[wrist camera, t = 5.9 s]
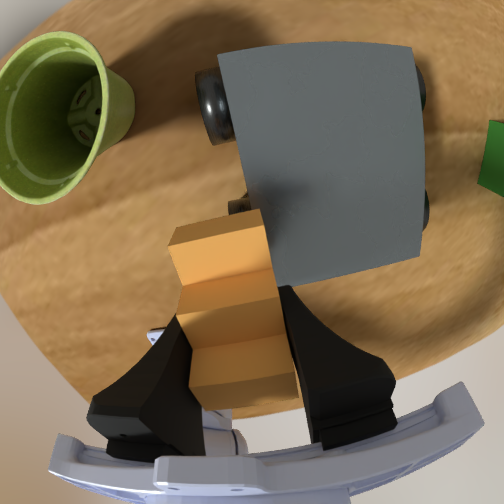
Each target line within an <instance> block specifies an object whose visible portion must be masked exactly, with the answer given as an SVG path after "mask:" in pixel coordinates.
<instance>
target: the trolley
mask: <svg viewBox="0 0 504 504" xmlns="http://www.w3.org/2000/svg"><path fill="white" fill-rule="evenodd" d="M217 57H218V61H219V67H215V68H211V69H207V70H203V71H199V72H196V73H195V82H196V89H197V95H198V100H199V104H200V109H201V113H202V117H203V120H204V124H205V127H206V130H207V133H208V136H209V139H210V141H211V143H212V145H213V146H214V145H219V144H223V143H227V142H232V141H237V145H238V150H239V154H240V159H241V164H242V168H243V173H244V177H245V182H246V186H247V191H248V196H249V197H246V198H241V199H237V200H232V201H228V212H229V215H232V214H237V213H241V212H246V211H251V210H255V209H260V212H261V216H262V219H263V223H264V227H265V232H266V237H267V242H268V247H269V252H270V257H271V262H272V268H273V272H274V276H275V280H276V284H277V287H280V286H284V285H290V286H291V287H294V286H299V285H303V284H308V283H312V282H317V281H321V280H326V279H330V278H335V277H339V276H343V275H348V274H352V273H356V272H360V271H364V270H368V269H372V268H376V267H380V266H384V265H388V264H392V263H396V262H400V261H404V260H407V259H411V258H415V257H419V256H420V249H421V240H422V232H423V231H424V229H425V228H426V226H427V224H428V220H429V200H428V196H427V192H426V190H425V146H424V129H423V117H422V112H423V109H424V106H425V101H426V90H425V84H424V80H423V77H422V74H421V72H420V70H419V69H418V67H417V66H416V64H415V62H414V57H413V52H412V48H411V47H406V46H398V45H390V44H379V43H366V42H304V43H290V44H280V45H271V46H263V47H256V48H249V49H243V50H238V51H232V52H227V53H223V54H218V55H217Z"/></svg>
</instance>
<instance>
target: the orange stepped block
mask: <svg viewBox="0 0 504 504" xmlns="http://www.w3.org/2000/svg"><path fill="white" fill-rule="evenodd" d="M168 249H169V251H170V254H171V257H172V259H173V262H174V265H175V267H176V270H177V272H178V275H179V277H180V280H181V282H182V285H183V288H182V292H181V296H180V300H179V304H178V308H177V313H176V317H177V319H178V321H179V323H180V325H181V327H182V329H183V331H184V333H185V335H186V337H187V339H188V341H189V343H190V345H191V347H192V349H193V353H192V361H191V370H190V379H189V388H190V390H191V391H192V393H193V394H194V396H195V397H196V399H197V400H198V401H199V403H200V404H201V406H202V407H203V408H204V410H205V411H213V410H223V409H233V408H241V407H248V406H255V405H262V404H268V403H273V402H279V401H284V400H289V399H294V398H299V395H298V389H297V383H296V376H295V370H294V366H293V361H292V357H291V352H290V348H289V343H288V339H287V335H286V329H285V324H284V318H283V313H282V307H281V302H280V296H279V292H278V288H277V284H276V280H275V276H274V272H273V268H272V262H271V257H270V252H269V247H268V242H267V237H266V232H265V227H264V223H263V219H262V216H261V212H260V209H255V210H251V211H246V212H241V213H237V214H232V215H228V216H223V217H219V218H215V219H210V220H206V221H202V222H197V223H193V224H189V225H185V226H181V227H177V228H176V230H175V232H174V234H173V236H172V238H171V240H170V243H169V245H168Z"/></svg>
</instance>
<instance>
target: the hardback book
mask: <svg viewBox="0 0 504 504" xmlns="http://www.w3.org/2000/svg"><path fill="white" fill-rule="evenodd" d="M477 184H479V185H481V186H483V187H485V188H487V189H489V190H491V191H493V192H495V193H497V194H498V195H500V196H502V197H504V123H500V122H496V121H492V120H489V128H488V135H487V141H486V147H485V152H484V157H483V162H482V166H481V171H480V175H479V179H478V183H477Z"/></svg>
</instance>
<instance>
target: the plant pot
mask: <svg viewBox="0 0 504 504" xmlns="http://www.w3.org/2000/svg"><path fill="white" fill-rule="evenodd" d="M85 90H86V91H87V92H86V93H85V95H84V96H83V97H82V98H81V100H80V102H79V103H78V105H77V100H78V98H79V96H80V94H81V93H82V92H83V91H85ZM98 108H99V109H100V110H101V112H100V114H99V115H97V114H96V113H95V111H96V109H98ZM134 115H135V98H134V93H133V90H132V88H131V86H130V85H129V84H128V82H127V81H126V80H124V79H123V78H122V77H120V76H119V75H118V74H116V73H114V72H113V71H111V70H110V69H108V68H107V67H106V65H105V63H104V60H103V58H102V56H101V55H100V53H99V51H98V50H97V49H96V47H95V46H94V45H93V44H92V43H91V42H90V41H88V40H87V39H85V38H84V37H82V36H80V35H78V34H75V33H71V32H66V31H56V32H50V33H46V34H43V35H41V36H39V37H36V38H34V39H32V40H30V41H29V42H28V43H26V44H25V45H23V46H22V47H21V48H20V49H19V50H18V51H17V52H16V53H15V54H14V55H13V56H12V57H11V58H10V59H9V60H8V62H7V63H6V64H5V66H4V67H3V69H2V70H1V71H0V186H1V187H2V188H3V189H4V190H5V191H6V192H8V193H9V194H10V195H11V196H12V197H14V198H16V199H17V200H20V201H23V202H25V203H29V204H46V203H49V202H53V201H55V200H57V199H59V198H61V197H63V196H64V195H66V194H67V193H68V192H70V191H71V190H72V189H73V188H74V187H75V186H76V185H77V184H78V183H79V182H80V181H81V180H82V179H83V178H84V176H85V175H86V174H87V172H88V171H89V169H90V167H91V166H92V164H93V162H94V160H95V159H96V157H97V156H98V155H100V154H101V153H102V152H104V151H105V150H107V149H108V148H110V147H111V146H113V145H114V144H115V143H117V142H118V141H119V140H120V139H122V138H123V137H124V135H125V134H126V133H127V131H128V130H129V128H130V126H131V124H132V122H133V119H134ZM80 130H82V131H83V133H84V134H85V135H86V136H88V138H90V140H86V139H84V138H82V137H81V135H80V133H79V131H80Z"/></svg>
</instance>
